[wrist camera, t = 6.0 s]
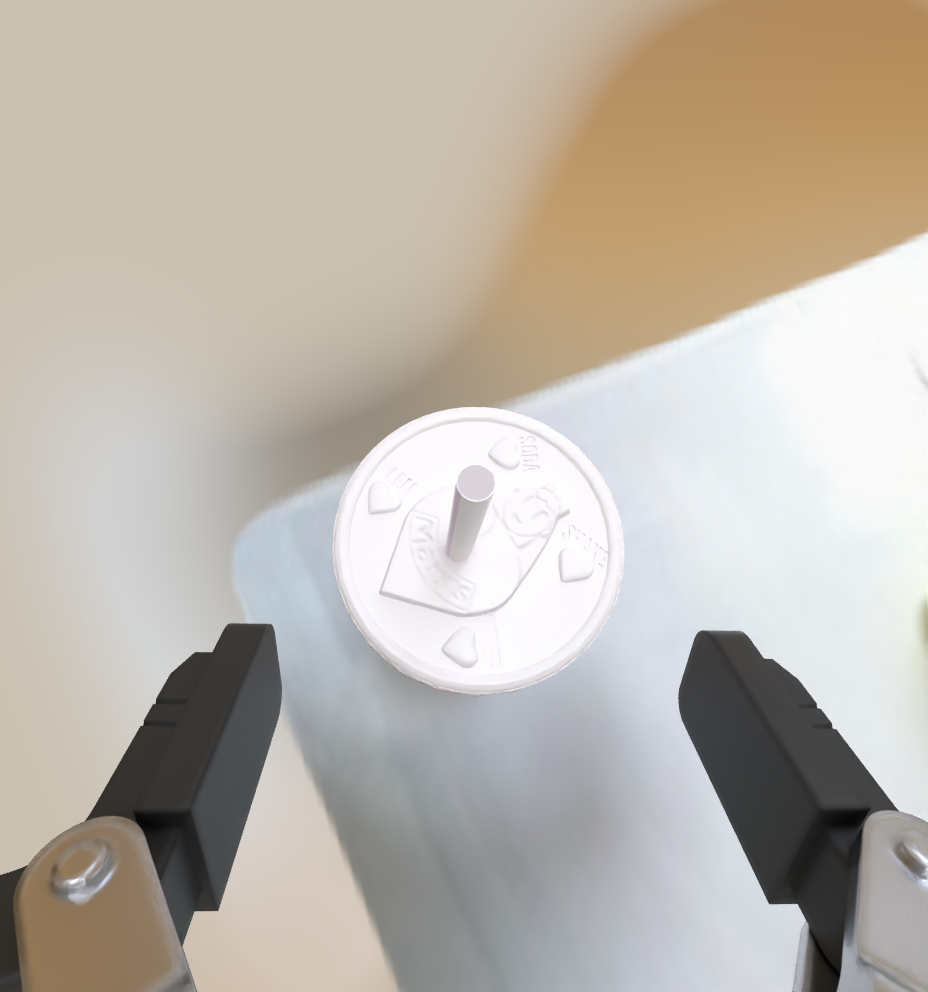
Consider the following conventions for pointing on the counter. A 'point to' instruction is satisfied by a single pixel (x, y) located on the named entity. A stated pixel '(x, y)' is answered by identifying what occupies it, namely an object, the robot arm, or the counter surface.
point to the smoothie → (478, 550)
